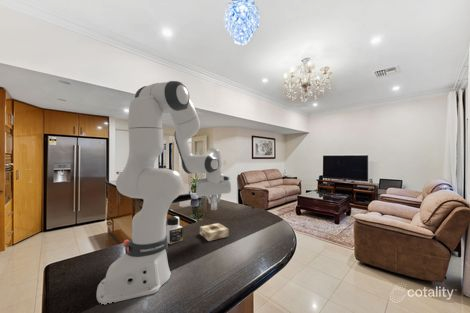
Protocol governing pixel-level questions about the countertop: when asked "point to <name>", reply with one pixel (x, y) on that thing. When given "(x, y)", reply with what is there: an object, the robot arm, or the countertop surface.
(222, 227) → the socket block
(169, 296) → the countertop surface
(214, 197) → the pin
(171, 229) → the medicine bottle
